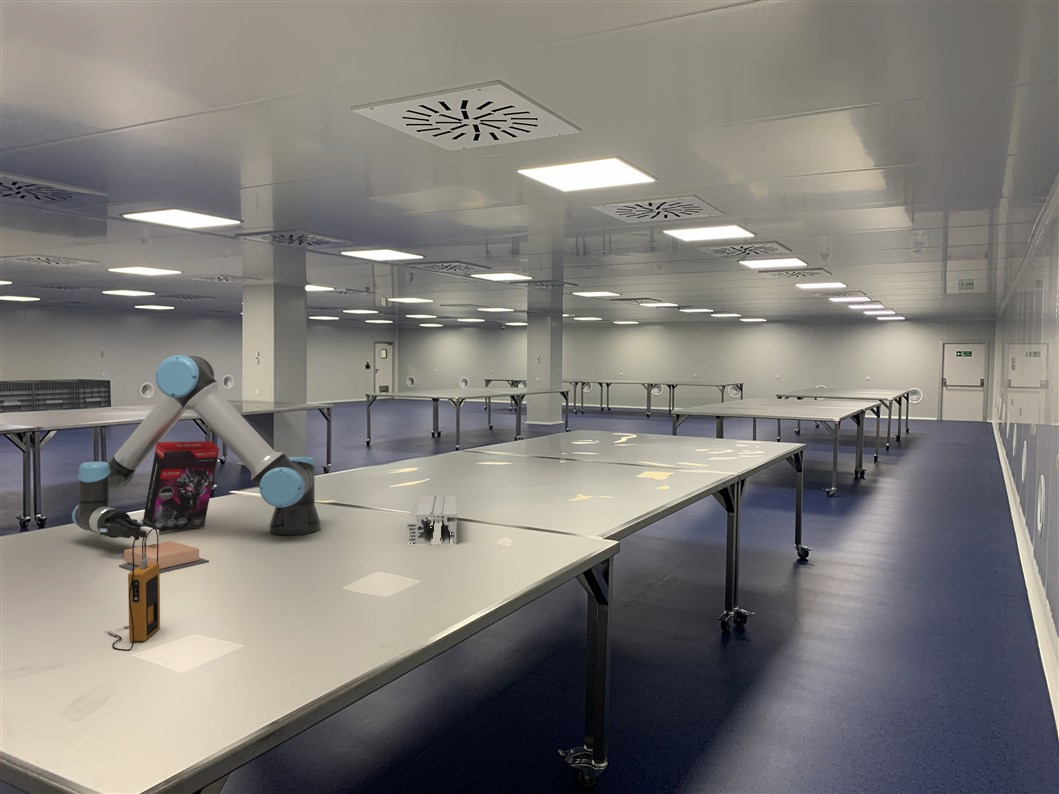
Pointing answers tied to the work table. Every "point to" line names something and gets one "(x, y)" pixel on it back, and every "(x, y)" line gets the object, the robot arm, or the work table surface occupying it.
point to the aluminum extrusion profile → (421, 523)
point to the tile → (164, 554)
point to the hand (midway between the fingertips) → (156, 535)
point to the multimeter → (143, 598)
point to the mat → (200, 561)
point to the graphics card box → (180, 484)
